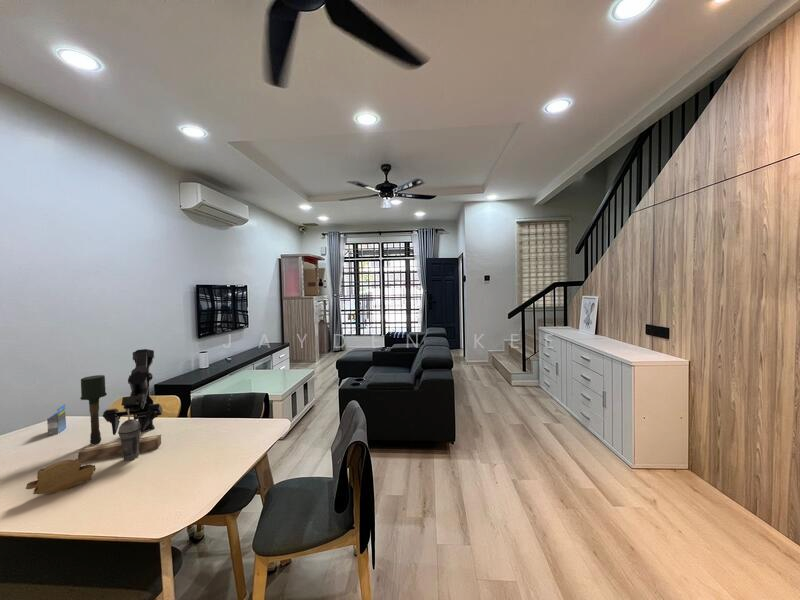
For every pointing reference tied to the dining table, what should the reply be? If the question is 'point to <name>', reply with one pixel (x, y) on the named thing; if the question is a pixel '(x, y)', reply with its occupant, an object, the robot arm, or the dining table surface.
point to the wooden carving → (61, 476)
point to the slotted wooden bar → (116, 448)
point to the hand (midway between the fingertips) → (128, 432)
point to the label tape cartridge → (57, 421)
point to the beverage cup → (130, 438)
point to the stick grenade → (93, 402)
